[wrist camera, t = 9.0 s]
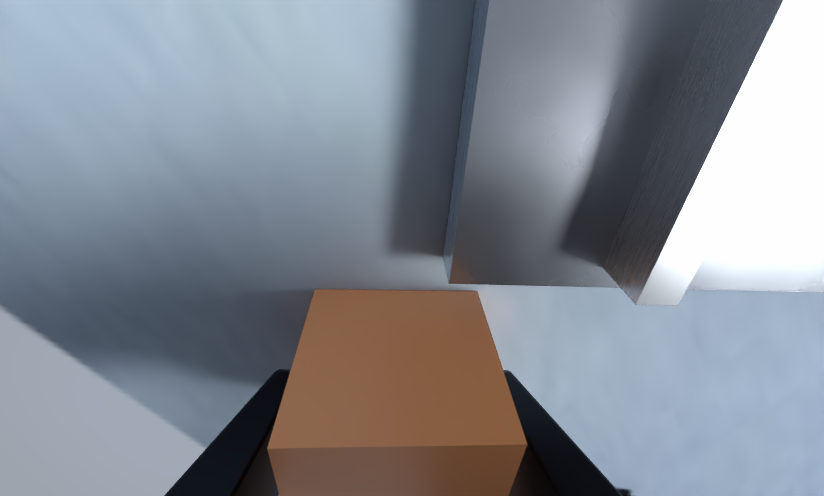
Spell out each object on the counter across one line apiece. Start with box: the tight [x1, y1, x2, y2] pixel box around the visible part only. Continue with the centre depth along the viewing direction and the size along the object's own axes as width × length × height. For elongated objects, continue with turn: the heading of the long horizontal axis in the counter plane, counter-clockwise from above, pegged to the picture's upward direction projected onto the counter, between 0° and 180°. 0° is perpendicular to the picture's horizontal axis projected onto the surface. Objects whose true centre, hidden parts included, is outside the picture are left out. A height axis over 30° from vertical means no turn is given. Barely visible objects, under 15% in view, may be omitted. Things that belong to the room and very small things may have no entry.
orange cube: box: [267, 289, 527, 496], centre depth 8 cm, size 4×4×4 cm
